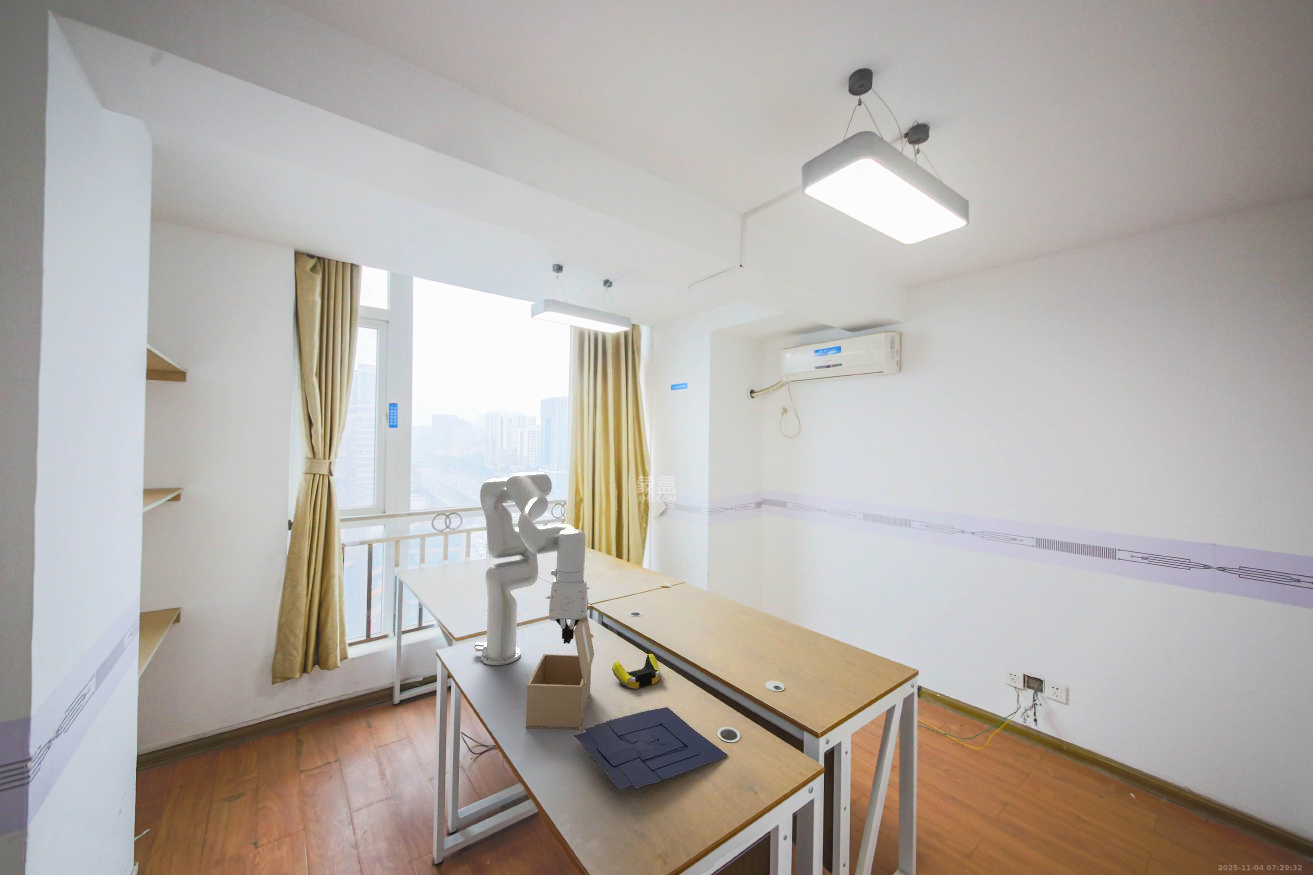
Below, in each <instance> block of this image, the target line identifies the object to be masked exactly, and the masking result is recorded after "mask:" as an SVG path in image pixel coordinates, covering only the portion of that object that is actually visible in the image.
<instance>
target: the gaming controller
mask: <svg viewBox="0 0 1313 875" xmlns="http://www.w3.org/2000/svg"><path fill="white" fill-rule="evenodd" d="M611 670H612V673H613V676H614V677H616V679H617V680H618V681H619V683H620V684H622V685H624V686H625V687H626V688H629V689H640V688H644V687H648V686H651V685H656V684H657V682H658V681H659V680H660V678H661V672H660V668H659V664H658V660H657V658H656V657H655V655H654V654H653V653H649V654H646V658H645V661H644V666H643V667H642V668H640V669H635V670H632V671H627V670H626V669H625V668H624V666H623V665H622V663H621V662H620V661H618V660H617V661H614V663H613V665H612V668H611Z"/></svg>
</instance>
